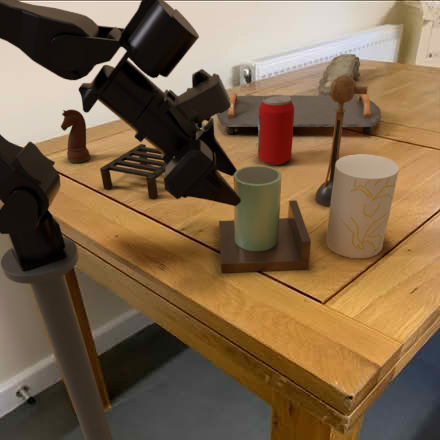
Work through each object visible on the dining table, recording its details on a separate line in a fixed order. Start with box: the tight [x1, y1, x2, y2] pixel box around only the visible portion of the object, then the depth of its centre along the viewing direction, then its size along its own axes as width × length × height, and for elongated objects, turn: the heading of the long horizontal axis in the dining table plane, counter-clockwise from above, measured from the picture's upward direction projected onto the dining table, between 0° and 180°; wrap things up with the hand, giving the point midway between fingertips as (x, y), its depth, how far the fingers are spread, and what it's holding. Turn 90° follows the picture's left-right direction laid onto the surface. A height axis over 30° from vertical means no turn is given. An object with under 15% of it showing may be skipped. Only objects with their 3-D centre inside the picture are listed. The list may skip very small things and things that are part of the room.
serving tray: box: [216, 92, 382, 136], centre depth 112 cm, size 39×23×6 cm, turn 84°
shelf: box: [218, 199, 312, 274], centre depth 68 cm, size 12×12×4 cm
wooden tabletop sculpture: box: [314, 75, 368, 208], centre depth 74 cm, size 6×5×20 cm
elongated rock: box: [317, 53, 361, 95], centre depth 135 cm, size 35×5×10 cm
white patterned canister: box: [325, 153, 400, 259], centre depth 66 cm, size 8×8×12 cm
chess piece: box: [60, 108, 91, 164], centre depth 96 cm, size 5×5×10 cm
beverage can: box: [257, 94, 294, 166], centre depth 91 cm, size 7×7×12 cm
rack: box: [99, 143, 174, 200], centre depth 88 cm, size 13×11×4 cm
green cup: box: [232, 165, 283, 251], centre depth 65 cm, size 6×6×10 cm
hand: (236, 187), depth 63 cm, fingers open, 9 cm apart
